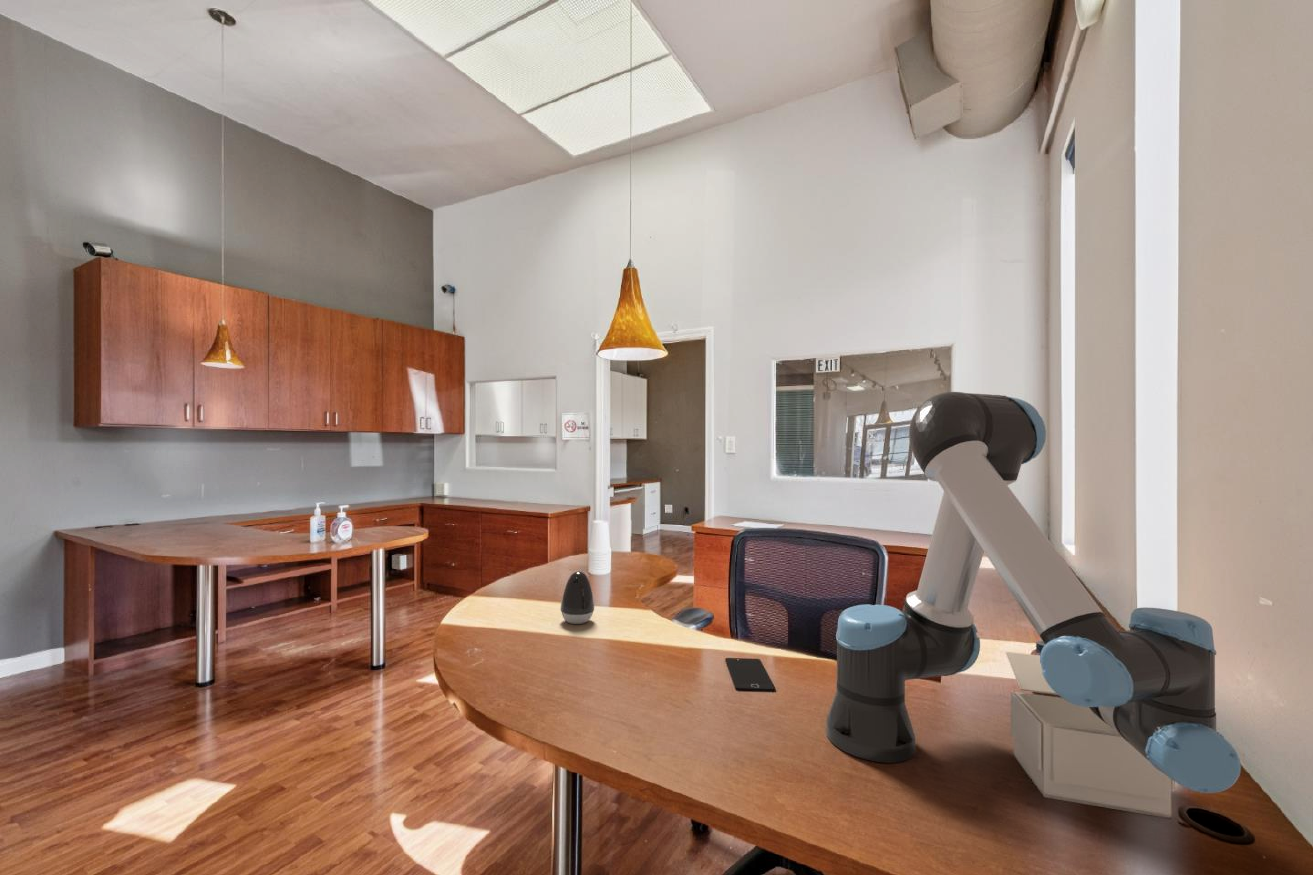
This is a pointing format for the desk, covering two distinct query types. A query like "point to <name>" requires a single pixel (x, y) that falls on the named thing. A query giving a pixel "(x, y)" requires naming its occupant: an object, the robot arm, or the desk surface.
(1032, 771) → the carton
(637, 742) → the desk surface
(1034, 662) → the far flap
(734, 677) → the cell phone
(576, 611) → the black egg shaped device
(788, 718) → the desk surface
